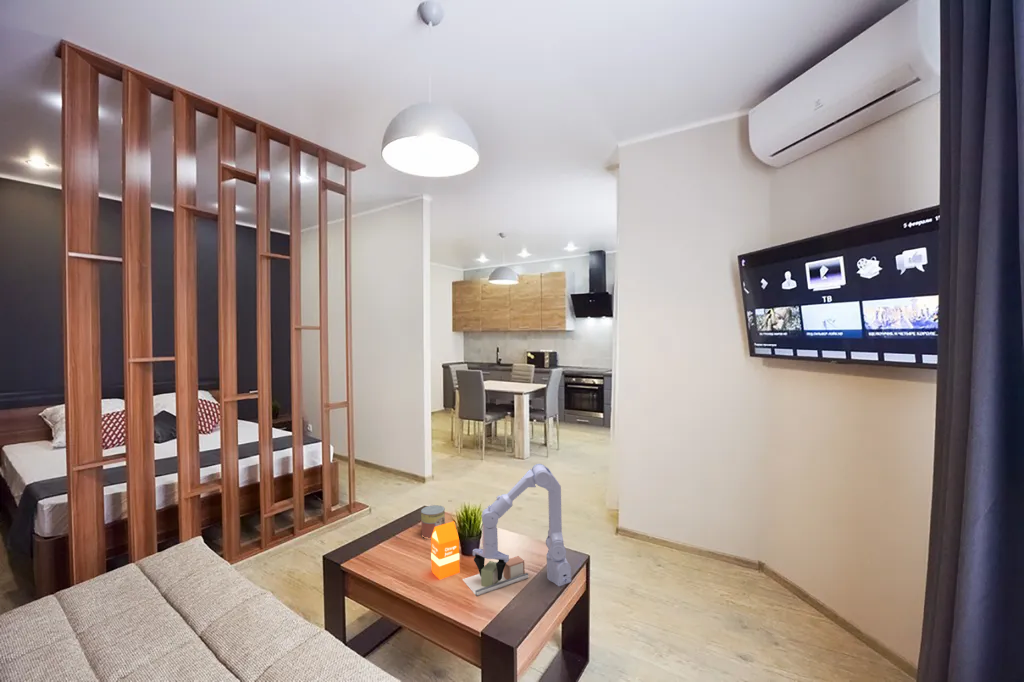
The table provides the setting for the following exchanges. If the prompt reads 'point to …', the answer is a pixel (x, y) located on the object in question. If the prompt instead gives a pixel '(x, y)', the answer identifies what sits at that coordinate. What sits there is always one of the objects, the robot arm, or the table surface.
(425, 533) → the canned food
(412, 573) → the table surface
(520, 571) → the tea box rust
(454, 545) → the orange juice
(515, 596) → the table surface
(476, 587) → the shelf board
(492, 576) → the tea box olive
